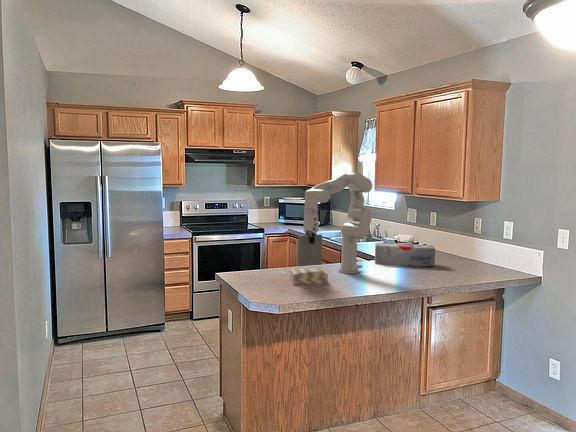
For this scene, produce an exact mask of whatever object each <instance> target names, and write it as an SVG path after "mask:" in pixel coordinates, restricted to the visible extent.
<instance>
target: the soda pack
mask: <svg viewBox="0 0 576 432" xmlns="http://www.w3.org/2000/svg"><path fill="white" fill-rule="evenodd" d="M374 247H375V248H374V265H385V266H386V265H387V266H403V265H411V266H410V267H422V266H434V267H435V265H436V263H435V262H436V248H435V246H434V244H432V245H430V244H413V243H412V244H411V243H410V244H409V243H408V244H406V243H385V242H375V245H374Z"/></svg>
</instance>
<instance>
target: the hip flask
mask: <svg viewBox="0 0 576 432" xmlns="http://www.w3.org/2000/svg"><path fill="white" fill-rule="evenodd" d="M312 233H313V232H312ZM309 239H310V231H307V235H305V234H302V235H301V234H300V235H299V234H298V235H297V258H296V259H297V260H296V261H297V263H296V266H297V267H306V266H315V265H316V266H317V265H318V266H319V265H322V255H323V252H322V251H323V234H317V233H316V235H315V243H312V244H310V243H309Z"/></svg>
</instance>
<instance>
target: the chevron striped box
mask: <svg viewBox="0 0 576 432" xmlns="http://www.w3.org/2000/svg"><path fill="white" fill-rule="evenodd" d="M290 280H291V283H292V284H293V285H295V284H299V285H301V284H302V285H304V284H305V285H307V284H308V285H309V284H314V285H316V284H321V285H322V284H323V285H324V284H325V285H326V284H327V285H328V284H329V273H328V272H327V271H326V270H325V269H324V268H290Z"/></svg>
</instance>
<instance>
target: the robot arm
mask: <svg viewBox="0 0 576 432" xmlns="http://www.w3.org/2000/svg"><path fill="white" fill-rule="evenodd" d="M346 188H347V189H348V191H349V193H350V196H351V198H350V204H349V208H348V211H347V218H348V219H347V220H349V221H351V222H345V223H343V224H342V226H341V229H340V233H341V263H340V265H341V266H340V268H339V269H338V272H339V273H341V274H348V275H349V274H357V273H359V269H362V268H363V265H362V264H357V256H358V251H357V250H358V242H357V240H364V239H366V238H367V236H368V235H369V234H368V233H369V230H370V227H371V223H372V217H373V213H372V210H371V209H370V208H368V207H364V204H365V196H364V193H369V192H371V191H372V190H373V182H372V180H371V179H369V177H366V176H365V175H363V174H361V173H359V172H357V171H356V172H354V171H353V172H350V171H346V172H342V173H340V174H339V175H338V176H336V177H334V178H333V179H331V180H327V181H325V182H321V183H319V184H316V185H315V186H313V187H311V188H310V189H307V190H305V192H304V214H303V215H304V217H303V230H304V235H307V231H310V239H309V243H310V244H312V243H315V235H316V234H317V233H318V231H319V214H318V210H319V209H318V206H319V203H323V204H324V203H327V202H329V201H330V199H331V194H332V195H333V194H337V193H340V192H341V191H343V190H344V189H346ZM355 222H356V223H355ZM358 222H359V223H358ZM312 232H313V233H312Z"/></svg>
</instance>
